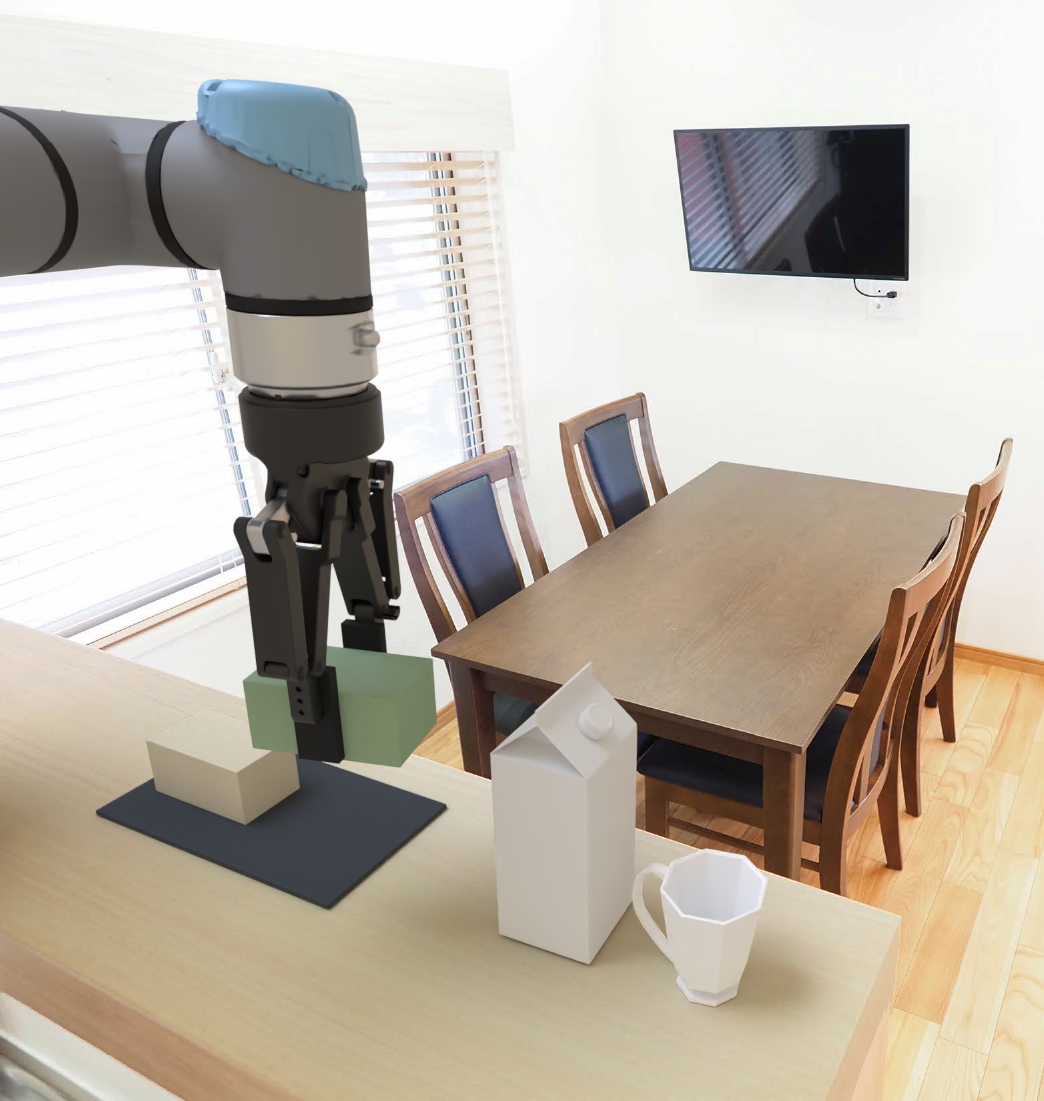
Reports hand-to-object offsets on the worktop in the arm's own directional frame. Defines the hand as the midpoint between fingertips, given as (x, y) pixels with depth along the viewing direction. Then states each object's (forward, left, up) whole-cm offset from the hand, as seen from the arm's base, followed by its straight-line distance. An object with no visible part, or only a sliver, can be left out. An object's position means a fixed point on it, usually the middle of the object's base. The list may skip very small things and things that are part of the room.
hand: (347, 731), depth 62 cm
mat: (-5, +14, -15) cm, 21 cm away
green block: (0, 0, 0) cm, 0 cm away
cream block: (-9, +18, -14) cm, 24 cm away
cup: (+19, -15, -15) cm, 28 cm away
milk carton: (+13, -7, -15) cm, 21 cm away
